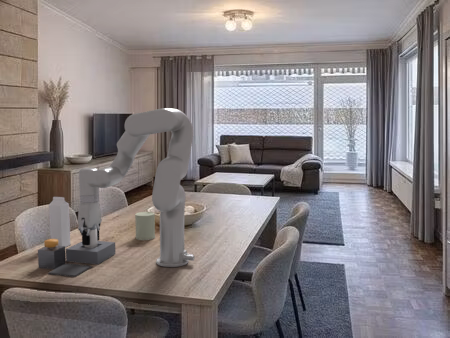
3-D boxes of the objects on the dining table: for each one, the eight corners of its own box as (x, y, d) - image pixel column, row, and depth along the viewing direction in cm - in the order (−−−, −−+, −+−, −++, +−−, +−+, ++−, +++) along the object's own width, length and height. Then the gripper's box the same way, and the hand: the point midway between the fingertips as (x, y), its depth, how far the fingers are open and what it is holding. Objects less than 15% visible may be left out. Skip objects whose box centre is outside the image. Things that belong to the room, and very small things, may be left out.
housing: (115, 253, 191) (115, 242, 190) (97, 264, 177) (97, 251, 177) (85, 251, 194) (85, 239, 194) (66, 261, 181) (65, 249, 180)
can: (159, 237, 217) (158, 212, 216) (145, 241, 210) (144, 215, 208) (145, 234, 223) (145, 209, 221) (131, 238, 215) (130, 213, 214)
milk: (59, 243, 206) (57, 195, 203) (70, 245, 204) (69, 196, 201) (50, 247, 200) (48, 197, 197) (61, 248, 198) (59, 198, 196)
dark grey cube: (65, 263, 178) (65, 246, 177) (54, 269, 171) (53, 251, 170) (50, 262, 180) (49, 244, 179) (38, 267, 173) (37, 249, 172)
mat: (91, 267, 174) (91, 265, 174) (75, 277, 163) (75, 275, 163) (66, 264, 177) (66, 263, 177) (48, 274, 166) (48, 272, 166)
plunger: (61, 260, 177) (60, 239, 176) (53, 264, 172) (52, 242, 171) (50, 259, 178) (49, 238, 177) (42, 263, 174) (41, 241, 173)
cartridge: (100, 256, 187) (99, 222, 186) (93, 260, 183) (92, 225, 181) (89, 255, 189) (88, 222, 187) (82, 258, 184) (81, 224, 182)
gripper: (92, 194, 192) (94, 236, 194) (68, 202, 175) (70, 247, 178) (108, 195, 190) (110, 237, 192) (85, 203, 174) (87, 249, 176)
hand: (91, 242), depth 185 cm, fingers open, 6 cm apart
